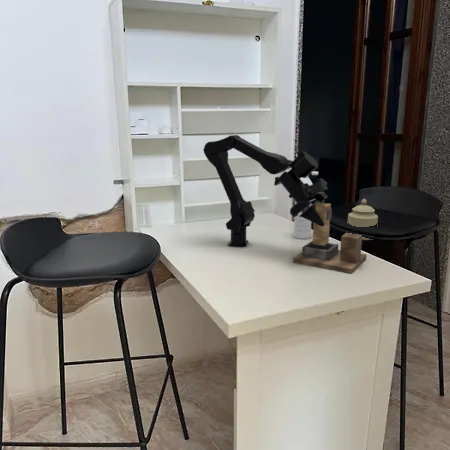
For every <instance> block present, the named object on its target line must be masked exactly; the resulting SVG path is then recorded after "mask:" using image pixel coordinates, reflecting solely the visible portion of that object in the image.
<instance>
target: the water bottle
mask: <svg viewBox="0 0 450 450" xmlns="http://www.w3.org/2000/svg"><path fill="white" fill-rule="evenodd" d="M311 175H312V176H318V175H319V171H312V172H311ZM300 179H301V181H302V182H303V183H304V184H305V183H308V184H309V186H310V185H313V184H314V183H313V182H312V180H311V179H310V177H309V175H308V176H307V177H306V178H302V177H301V178H300ZM296 203H297V202H296V201H295V200H294V205H295V204H296ZM301 214H302V212H300V213H298V216H296V217H294V227H293V229H294V230H293V237H294V238H296V239H298V240H301V239H302V240H307V239H311V236H312V222H311V221H309V220H307V219H305V218H303V217H300V215H301Z"/></svg>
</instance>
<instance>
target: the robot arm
mask: <svg viewBox="0 0 450 450" xmlns="http://www.w3.org/2000/svg"><path fill="white" fill-rule="evenodd" d="M233 149H234V150H236V151H237V152H239V153H242V154H243V155H245V156H246V157H248V158H250V159H253V160H254V161H256V162H257V163H258V164H260V166H261V167H262V169H264V170H265V171H266V172H267V173H269V174H270V175H278V174H280V175H279V176H275V177H274V184H273V185H274V186H276V187H277V186H278V185H282V187H283V188H284V189H285V190H286V191H287V193H288V194H289V195H288V198H289V199H293V200H294V202H295V201H296V202H297V203H296V204H295V203H294V205H293V206H292V207H291V208H290V209H289V214H290V215H291V216H292V217H293V218H295V217H296V216H298V213H300V212H302V214H301V215H300V217H303V218H305V219H307V220H309V221H311V223H313V224H314V223H316V224H317V225H319V226H321V227H322V226H324V223H323V221H322V219H321V218H320V216H319V215H318V213H317V212H316V204H317V203H325V199H326V198H328V195H327V194H326V192H324V191H327V190H328V186H327V185H328V182H327V181H326V180H325V179H323V178H318V179H315V183H312V184H313V185H310V186H309V184H308V183H305V184H304V183H303V182H302V181H301V179H300V178H301V177H302V178H306V177H307V176H308V177H309V175H310V174H312V172H314V171H315V169H317V168H318V167H319V163H318V161H317V160H316V159H315V157H313V156H312V155H310V154H309V153H307V152H306V151H301V152H300V153H299V154H298V156H297V157H296V158H295V159H294V160H290V159H288V158H287V157H286V156H284V155H282V154H279V153H275V152H270V151H266V150H265V149H263V148H261V147H258V146H257V145H255V144H254V143H252V142H250V141H247V140H246V139H244V138H242V137H241V136H239V135H238V134H235V135H234V134H233V135H228V136H227V137H225V138H222V139H219V140H214V141H208V142H205V145H204V146H203V150H202V151H203V154H204V156H205V157H206V160H207V161H208V162H209V163H210V164H211V165H212V166H213V167H214V168H215V169H216V172H217V175H218V177H219V179H220V182H221V184H222V186H223V189H224V191H225V193H226V197H227V198H228V200H229V203H230V210H229V212H230V216H231V218H230V219H229V220H227V222H226V223H225V226H226V227H225V228H226V229H227V230H228V231H229V230H230V241H229V243H228V246H231V247H247V246H248V243H249V240H247V228H248V227H250V226H251V224H252V222H253V221H254V219H255V217H256V216H255V212H256V211H255V209H254V207H253V204H252V202H251V201H250V200H249V201H246V200H245V199H244V198H243V195H242V193H241V191H240V188H239V186H238V183H237V181H236V178H235V176H234V174H233V172H232V169H231V166H230V164H229V152H228V151H231V150H233ZM288 169H289V170H288ZM287 170H288V171H287Z"/></svg>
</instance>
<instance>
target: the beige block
mask: <svg viewBox="0 0 450 450" xmlns="http://www.w3.org/2000/svg"><path fill="white" fill-rule="evenodd" d="M316 212H317V213H318V215H319V216H320V218H321V219H322V221H323V223H324V226H322V227H321V226H319V225H317V224H316V223H314V222H313V223H312V224H313V225H312V226H313V227H312V241H313V242H312V244H317V245H323V246H324V245H326V244H327V243H330V239H329V238H330V227H331V226H330V225H331V223H330V222H331V219H332V213H333V209H332V204H331V203H326V202H324V203H317V204H316Z"/></svg>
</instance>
